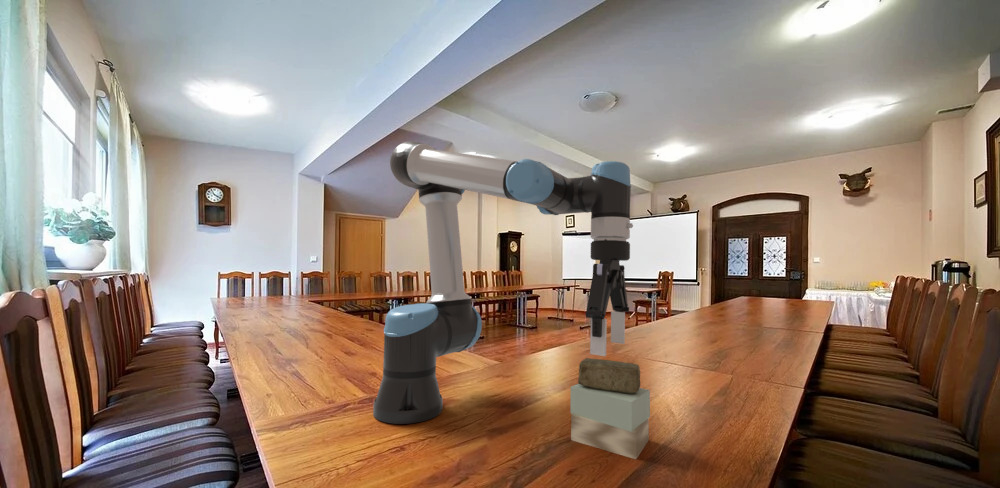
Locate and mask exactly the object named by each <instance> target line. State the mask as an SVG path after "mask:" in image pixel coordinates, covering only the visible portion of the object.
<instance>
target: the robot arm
mask: <svg viewBox="0 0 1000 488" xmlns="http://www.w3.org/2000/svg"><path fill="white" fill-rule="evenodd" d="M389 167H390V170H391V172H392V175H393V177H394V178H395V180H397V181H398V182H399V183H401V184H402V185H404V186H406V187H409V188H410V189H411V188H412V189H415V190H417V191H418V201H419V203H420V204H421V205H423V206H424V207H425V217H426V219H425V220H426V233H427V246H428V259H429V260H428V262H429V274H430V276H429V277H430V285H431V286H430V288H431V296H430V297H429V298H428V300H426V303H425V302H424V303H423V302H421V303H413V304H404V305H400V306H397V307H394V308H392V309H390V310H389V311H388V312H387V313H386V316H385V323H384V328H383V334H384V337H383V338H384V339H383V364H382V365H383V366H382V367H383V369H382V379H381V382H380V386H379V388H378V392H377V396H376V398H375V399H374V401H373V405H372V407H373V408H372V411H373V412H372V414H373V417H374V418H375V420H378V421H380V422H383V423H388V424H395V425H397V424H398V425H403V424H404V425H406V424H407V425H409V424H416V423H421V422H425V421H429V420H431V419H434V418H436V417H437V416H439V415H440V414H441V413H442V411H443V405H444V403H443V400H444V399H443V396H442V394H441V393H440V392H441V391H440V387H439V382H438V379H437V375H436V374H437V372H436V371H437V358H438V357H442V356H446V355H449V354H450V355H451V354H453V353H460V352H462V351H465V350H467V349H470V348H472V347H473V346H474V345H475V344H476V343H477V341H478V340H479V338H480V336H481V334H482V327H483V325H482V323H483V321H482V317H481V315H480V312H479V311H477V309H476V308H475V307H474V306H472V297H471V296H470V295H469V294H467V293H466V291H465V283H464V282H465V281H464V271H463V259H462V249H461V248H462V246H461V237H460V234H461V233H460V223H459V213H458V212H459V211H458V205H459V203H460V202H461V201H462V199H463V194H464V193H465V191H470V192H473V193H474V192H475V193H479V194H484V195H488V196H493V197H498V198H501V199H507V200H512V201H514V202H519V203H520V202H521V203H523V204H524V203H526V204H527V205H528V204H529V205H533V206H536V208H537V209H538V210H539V212H540V213H541V214H542V215H547V216H548V215H553V216H559V215H568V214H581V213H582V214H583V213H587V214H588V213H590V214H591V215H590V239H592V240H593V241H591V243H590V259H591V260H593V261H594V260H595V261H599V263H593V264H592V265H593V266H592V278H591V282H590V283H591V284H590V289H589V295H588V300H587V307H586V311H585V317H586V319H587V318H589V319H590V334H589V335H590V337H589V338H590V341H589V342H590V344H589V345H590V350H589V354H590V355H595V356H601V357H607V335H608V334H607V331H608V330H607V328H608V327H607V323H608V322H607V321H608V319H607V318H605V317H606V314H607V313H606V312H607V309H608V305H609V300H610V304H611V307H612V311H610V343H612V344H613V343H615V344H620V345H621V344H622V345H624V344H626V343H625V341H626V340H625V338H626V332H625V331H626V313H629V312H630V307H629V305H628V297H627V296H628V295H627V289H626V279H625V265H623V264H622V265H620V262H621V261H622V262H623V261H625V262H626V261H629V260H630V258H631V243H630V242H629V241H627V240H629V239H630V237H631V235H630V234H631V233H630V232H631V230H630V229H632V228H633V227H634V224H633V223H632V222H631V193H632V192H631V189H632V185H631V170H630V167H629V166H628V165H627V164H626V163H625V162H622V161H616V160H615V161H613V160H612V161H611V160H609V161H608V160H607V161H601V162H600V163H599V162H598V163H595V164H594V165H593V166H592V167H591V173H590V175H586V176H583V177H582V176H579V177H566V176H564V175H563V174H561V173H559V172H557V171H555V170H554V169H552V168H551V167H548V166H547V165H546V164H544V163H542V162H541V161H537V160H534V159H530V158H523V159H520V160H519V161H517V160H510V159H503V158H496V157H490V156H482V155H476V154H469V153H462V152H454V151H448V150H447V151H446V150H441V149H436V148H434V147H433V146H432V145H430V144H429V143H428V144H427V143H422V142H419V141H414V140H408V141H404V142H401V143H400V144H398V145H397V146H396V147H395V148H394V149H393V151H392V152H391V156H390V160H389Z"/></svg>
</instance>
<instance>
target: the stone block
mask: <svg viewBox="0 0 1000 488" xmlns="http://www.w3.org/2000/svg"><path fill="white" fill-rule="evenodd" d="M577 384H581V385H583V386H585V387H591V388H596V389H603V390H610V391H618V392H624V393H637V391H638V390H639V388H641V368H640V366H639V364H638V363H634V362H633V363H632V362H624V361H618V360H611V359H599V358H589V357H586V358H584V359H582V360H581V361H580V362H579V366H578V379H577Z"/></svg>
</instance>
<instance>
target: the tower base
mask: <svg viewBox="0 0 1000 488" xmlns="http://www.w3.org/2000/svg"><path fill="white" fill-rule="evenodd" d="M649 419H650V417H649V418H648V419H647V420H646V421H644V422H643V423H642V424H641V425H640V426H638V427H637V428H636V429H635V430H634V431H632V432H630V431H627V430H624V429H620V428H617V427H614V426H610V425H607V424H604V423H601V422H597V421H594V420H591V419H588V418H584V417H581V416H578V415H574V414H571V415H570V420H571V421H570V434H571V435H570V440H571V441H573V442H575V443H576V442H577V443H580V444H583V445H585V446H586V445H587V446H590V447H593V448H596V449H600V450H603V451H607V452H609V453H613V454H615V455H619V456H623V457H627V458H630V459H633V460H637V459H638V458H639V456H640V455H641V453H642V451H643V450H644V448H645V447H646V445H647V443H648V442H649V441H650V440H649V439H650V438H649V437H650V434H649V433H650V432H649V431H650V429H649V422H650V421H649Z"/></svg>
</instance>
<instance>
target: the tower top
mask: <svg viewBox="0 0 1000 488" xmlns="http://www.w3.org/2000/svg"><path fill="white" fill-rule="evenodd" d="M650 396H651V391H650V389H648V388H643V387H640V388H639V390H638V391H637V393H624V392H618V391H610V390H603V389H596V388H591V387H585V386H583V385H581V384H578V383H576V384H574V385H572V386H570V411H569V412H570V414H571V415H572V414H574V415H578V416H581V417H584V418H588V419H591V420H594V421H597V422H601V423H604V424H607V425H610V426H614V427H617V428H620V429H624V430H627V431H630V432H632V431H634V430H635V429H636V428H637V427H638V426H640V425H641V424H642V423H643V422H644V421H646V420H647V419H648V418H649V419H650V417H651V397H650Z"/></svg>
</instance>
